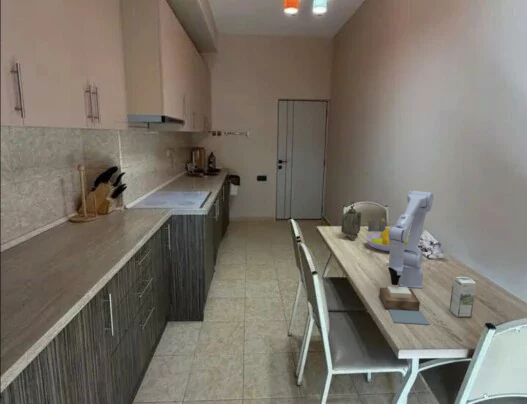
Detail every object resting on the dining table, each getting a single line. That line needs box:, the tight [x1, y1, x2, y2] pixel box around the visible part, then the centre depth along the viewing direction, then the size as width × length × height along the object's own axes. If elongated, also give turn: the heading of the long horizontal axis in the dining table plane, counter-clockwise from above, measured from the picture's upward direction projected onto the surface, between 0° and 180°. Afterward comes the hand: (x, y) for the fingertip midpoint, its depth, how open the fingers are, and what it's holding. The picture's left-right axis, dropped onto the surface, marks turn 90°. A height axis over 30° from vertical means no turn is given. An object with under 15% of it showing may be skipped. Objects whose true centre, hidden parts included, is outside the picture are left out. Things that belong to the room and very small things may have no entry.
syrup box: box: [449, 276, 477, 318], centre depth 136 cm, size 6×6×14 cm
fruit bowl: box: [365, 227, 409, 253], centre depth 213 cm, size 28×27×11 cm
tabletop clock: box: [340, 201, 362, 242], centre depth 233 cm, size 14×9×25 cm, turn 150°
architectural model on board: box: [367, 217, 387, 232], centre depth 252 cm, size 11×3×10 cm, turn 87°
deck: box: [378, 287, 421, 311], centre depth 146 cm, size 13×12×4 cm
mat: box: [388, 310, 430, 326], centre depth 135 cm, size 12×10×1 cm
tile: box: [387, 285, 411, 298], centre depth 145 cm, size 8×6×2 cm
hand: (394, 284), depth 153 cm, fingers closed
